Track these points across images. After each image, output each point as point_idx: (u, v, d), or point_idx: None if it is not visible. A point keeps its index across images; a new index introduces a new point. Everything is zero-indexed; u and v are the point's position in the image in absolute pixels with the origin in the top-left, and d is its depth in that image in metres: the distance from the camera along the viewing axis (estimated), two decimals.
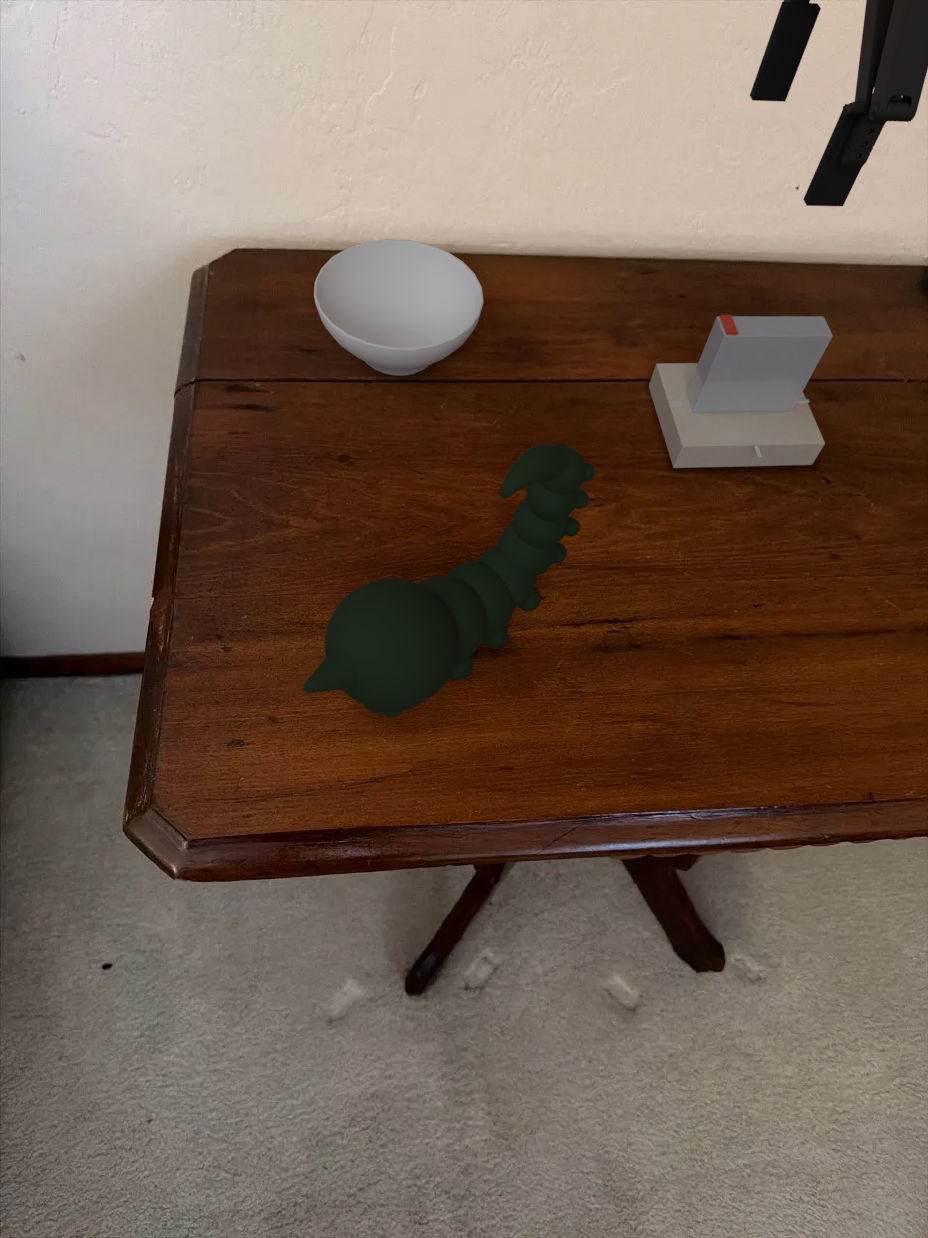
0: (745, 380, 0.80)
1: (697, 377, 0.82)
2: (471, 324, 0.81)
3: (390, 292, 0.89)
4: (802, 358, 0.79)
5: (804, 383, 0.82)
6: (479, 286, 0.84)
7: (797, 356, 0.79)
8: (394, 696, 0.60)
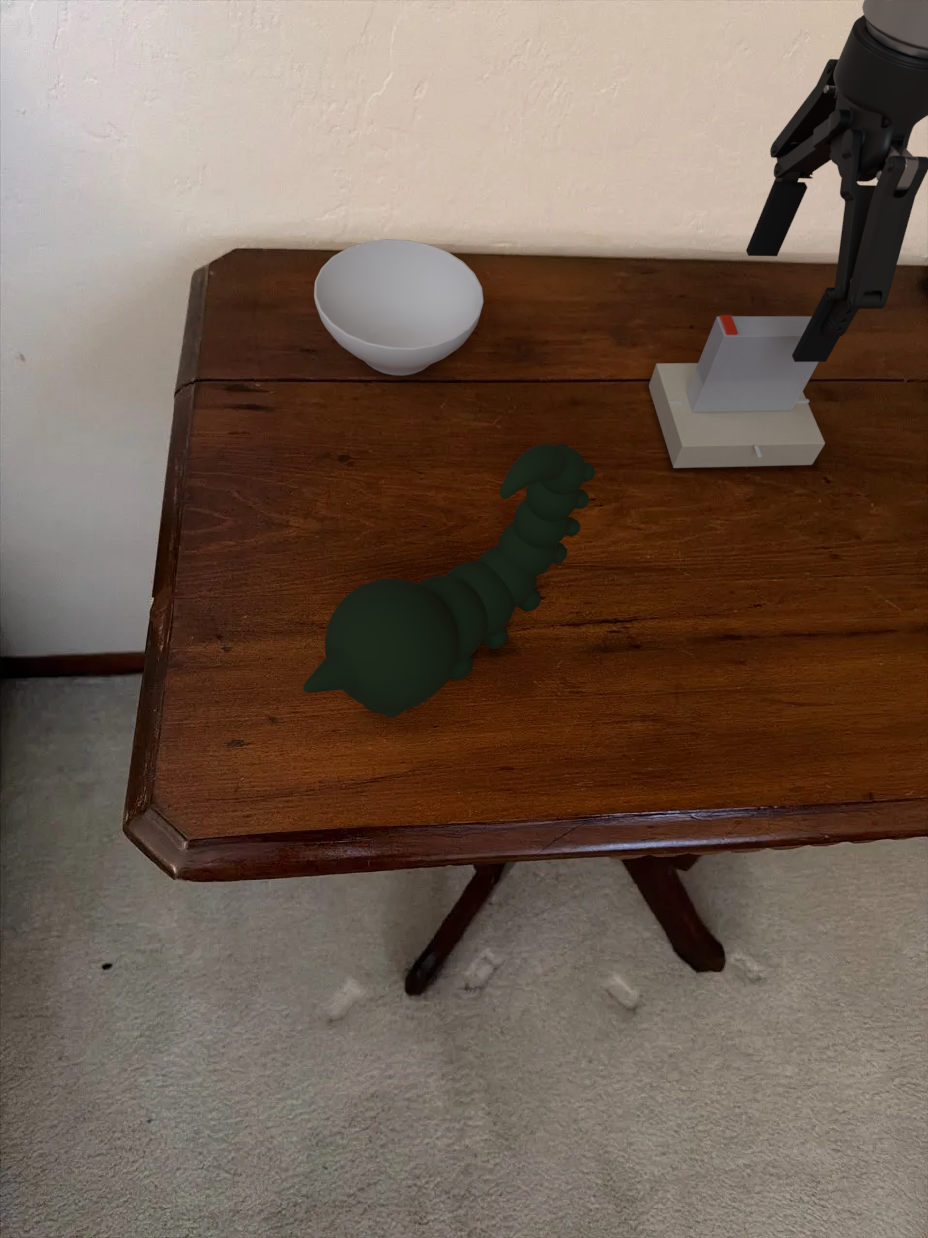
0: (745, 380, 0.80)
1: (697, 377, 0.82)
2: (471, 324, 0.81)
3: (390, 291, 0.89)
4: None
5: (804, 383, 0.82)
6: (479, 286, 0.84)
7: None
8: (395, 696, 0.60)
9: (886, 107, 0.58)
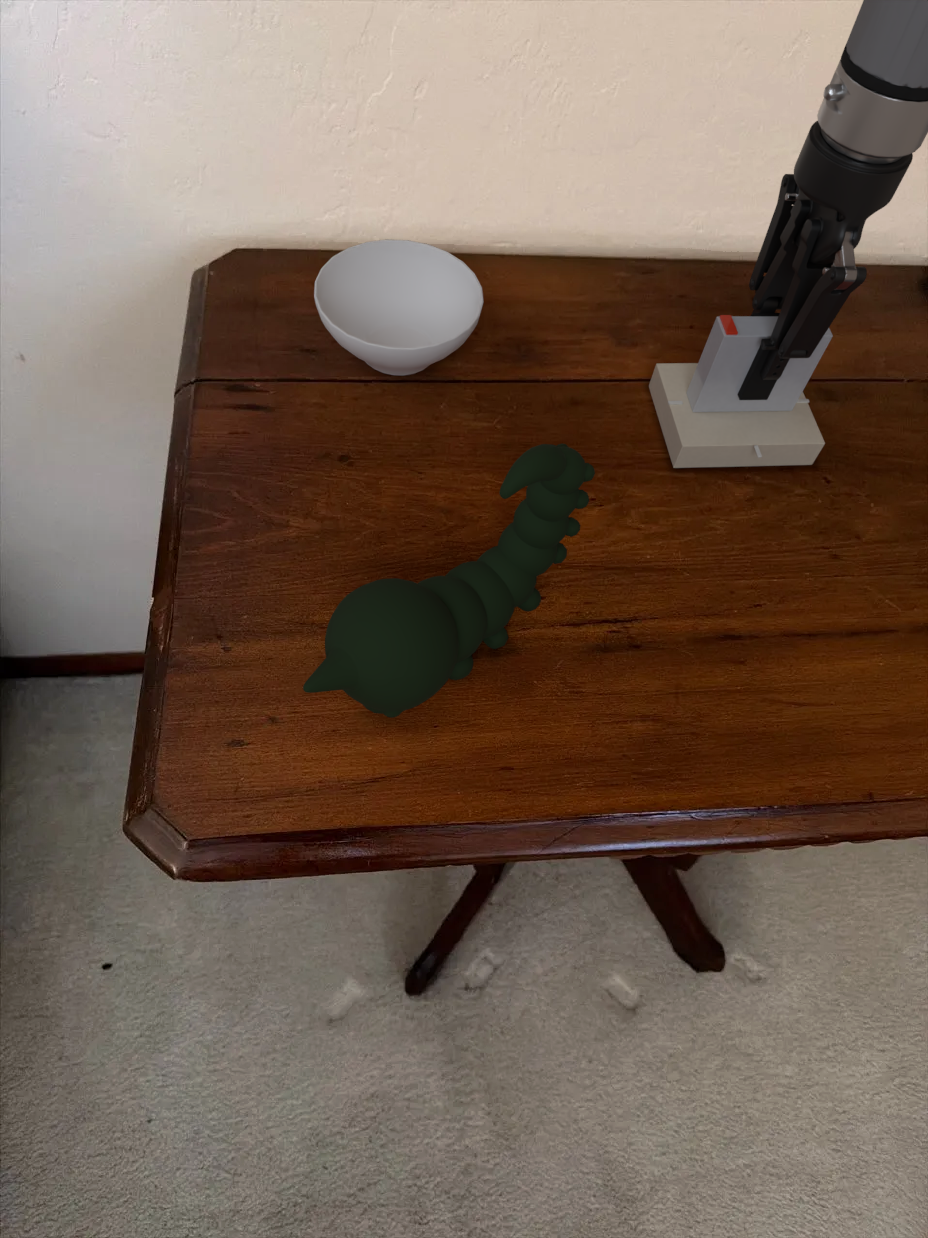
0: None
1: (697, 377, 0.82)
2: (471, 324, 0.81)
3: (390, 291, 0.89)
4: (802, 358, 0.79)
5: (804, 383, 0.82)
6: (479, 286, 0.84)
7: None
8: (394, 696, 0.60)
9: (840, 204, 0.64)
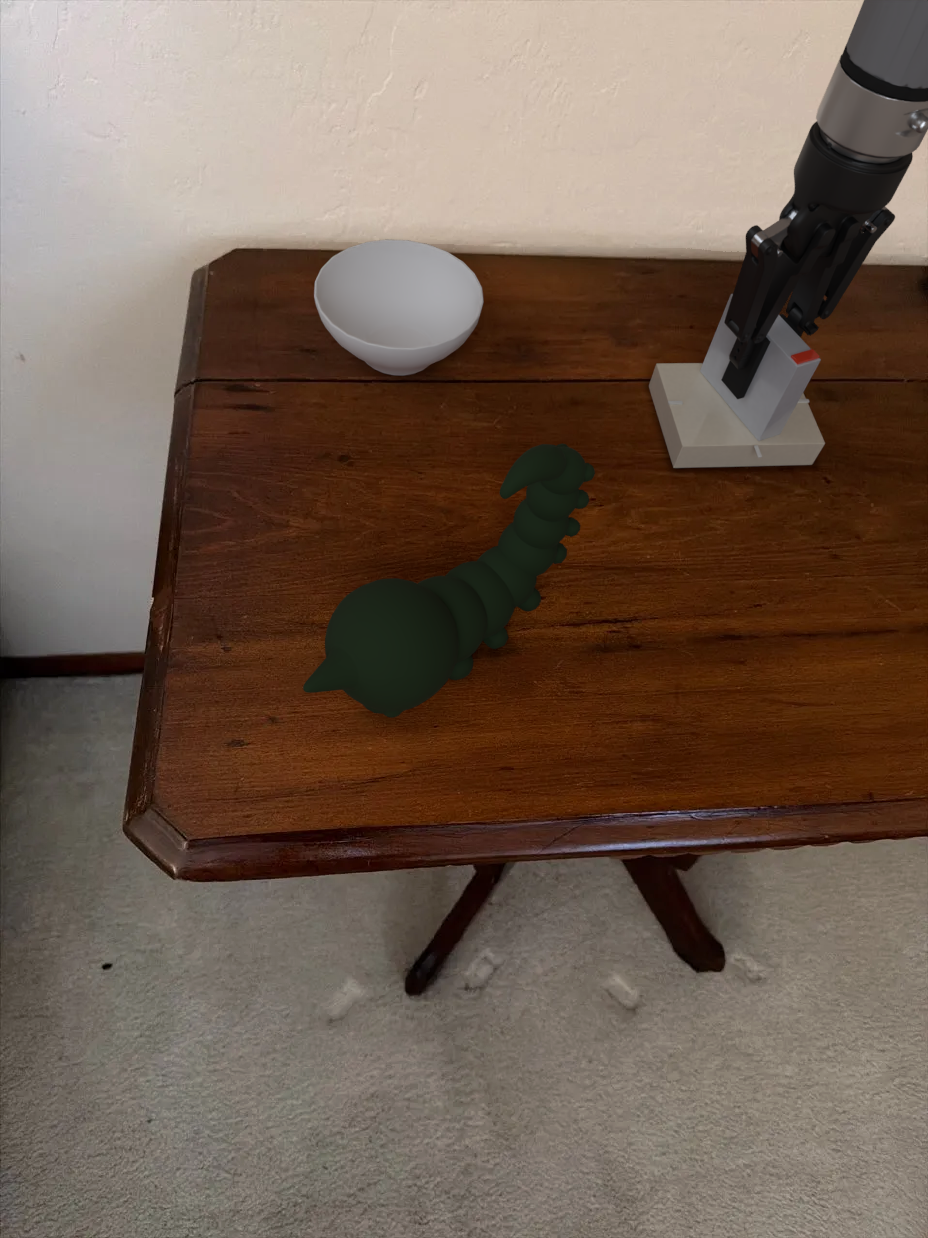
0: None
1: (778, 416, 0.80)
2: (471, 324, 0.81)
3: (390, 291, 0.89)
4: None
5: None
6: (479, 286, 0.84)
7: None
8: (395, 696, 0.60)
9: None
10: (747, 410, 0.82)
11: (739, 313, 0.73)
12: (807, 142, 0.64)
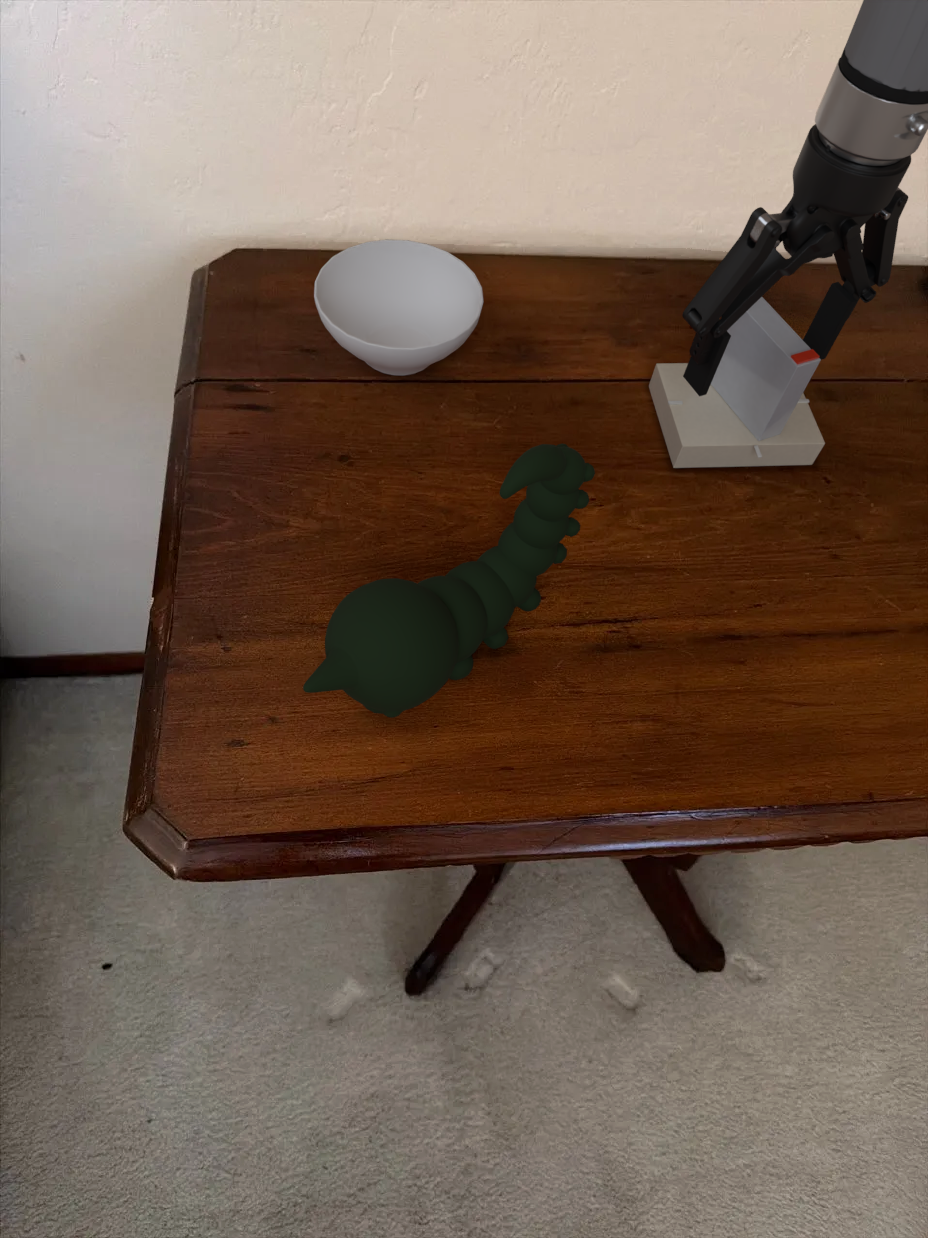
0: None
1: (778, 416, 0.80)
2: (471, 324, 0.81)
3: (390, 292, 0.89)
4: None
5: None
6: (479, 286, 0.84)
7: None
8: (395, 696, 0.60)
9: None
10: (747, 410, 0.82)
11: (708, 301, 0.70)
12: (806, 145, 0.64)
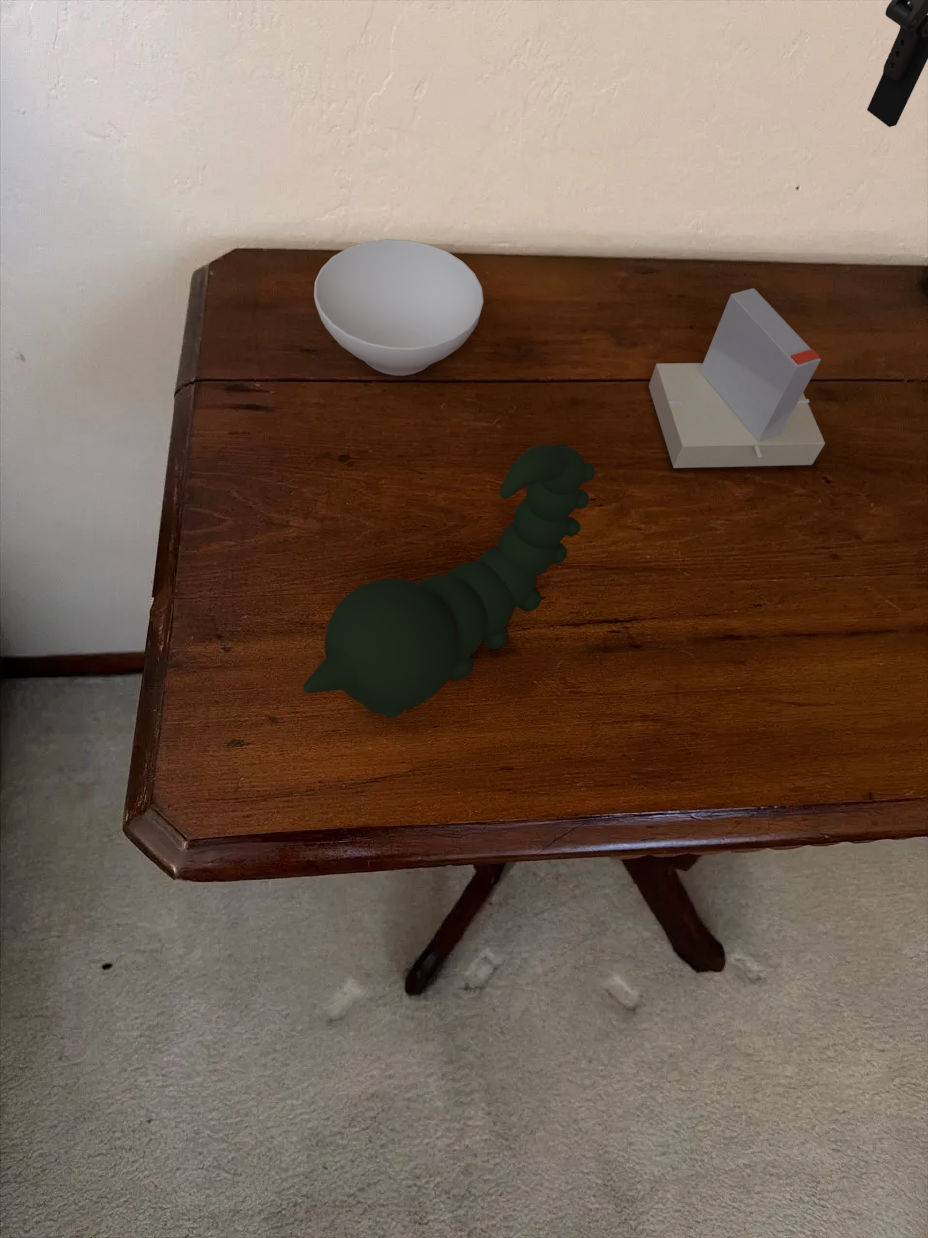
0: None
1: (778, 416, 0.80)
2: (471, 324, 0.81)
3: (390, 292, 0.89)
4: None
5: None
6: (479, 286, 0.84)
7: None
8: (394, 696, 0.60)
9: None
10: (747, 410, 0.82)
11: None
12: None
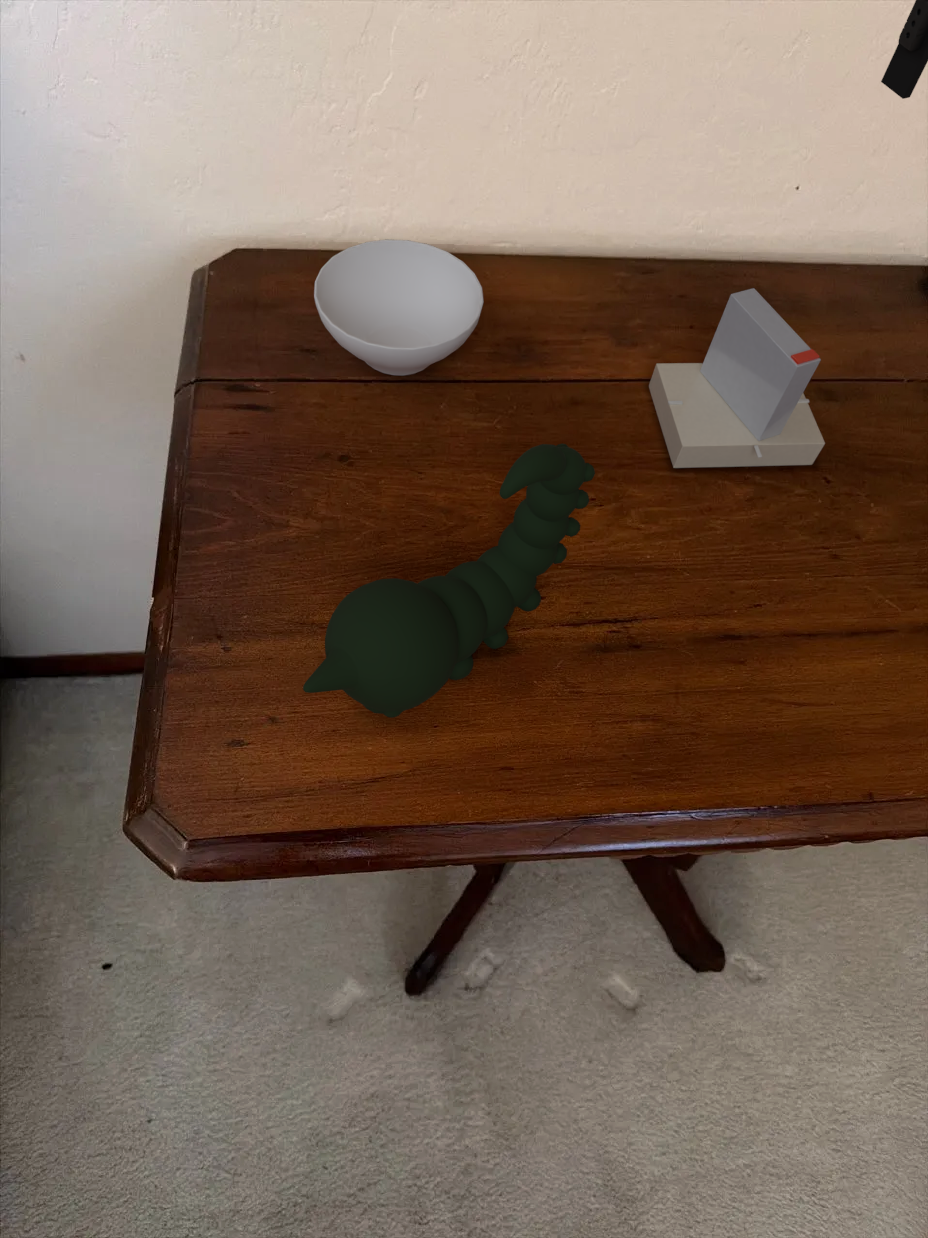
0: None
1: (778, 416, 0.80)
2: (471, 324, 0.81)
3: (390, 291, 0.89)
4: None
5: None
6: (479, 286, 0.84)
7: None
8: (394, 696, 0.60)
9: None
10: (747, 410, 0.82)
11: None
12: None
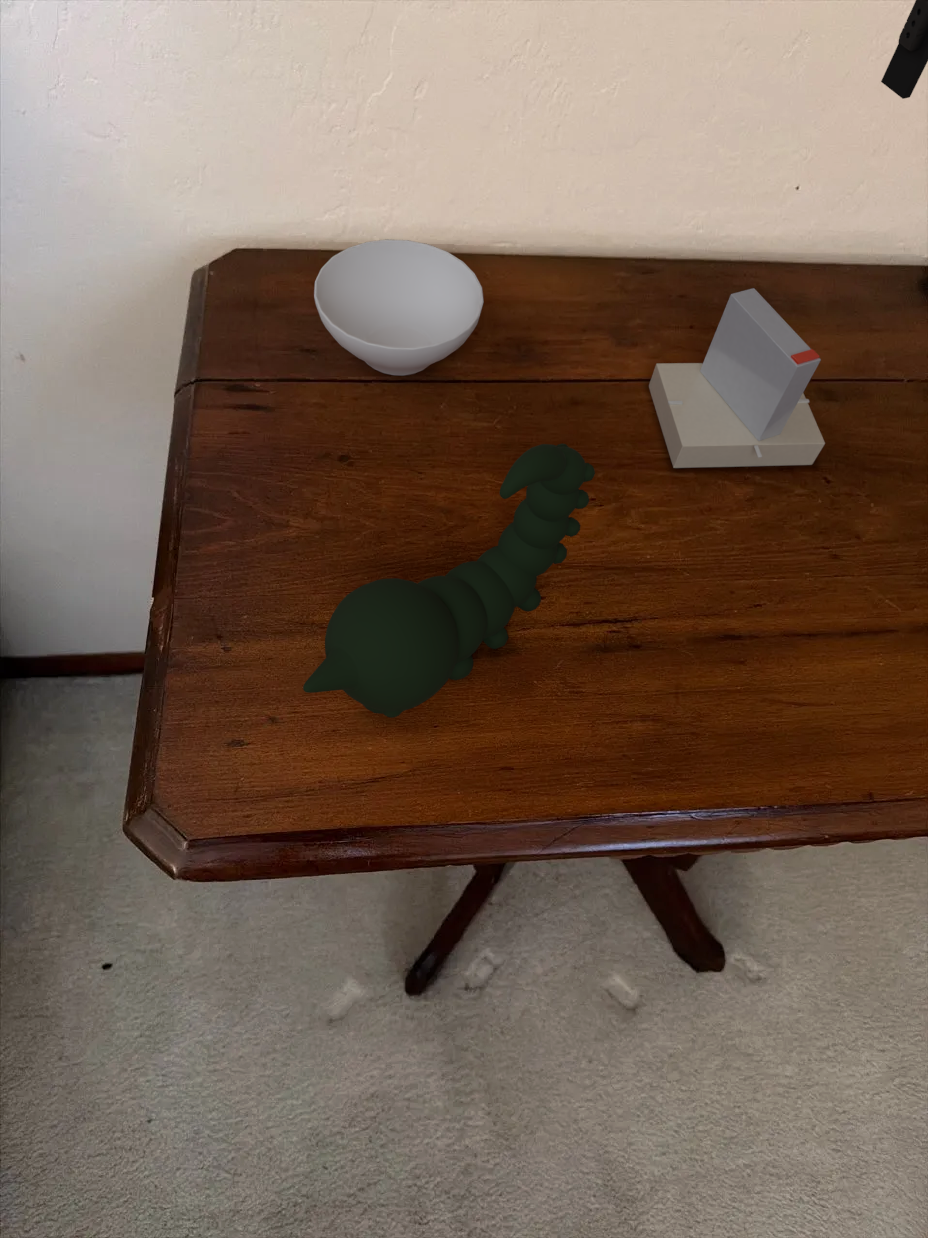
0: None
1: (778, 416, 0.80)
2: (471, 324, 0.81)
3: (390, 291, 0.89)
4: None
5: None
6: (479, 286, 0.84)
7: None
8: (395, 696, 0.60)
9: None
10: (747, 410, 0.82)
11: None
12: None
